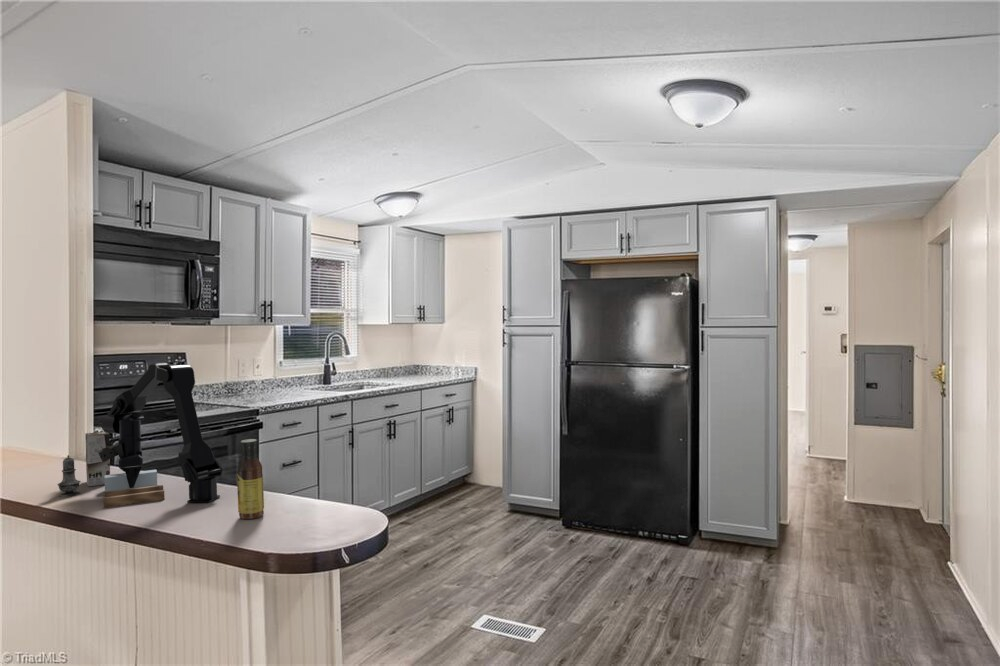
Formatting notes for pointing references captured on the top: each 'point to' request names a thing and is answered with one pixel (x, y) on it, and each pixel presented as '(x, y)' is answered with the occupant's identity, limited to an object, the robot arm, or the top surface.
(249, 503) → the sauce bottle
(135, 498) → the cradle
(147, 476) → the pale grey-blue bar
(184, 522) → the top surface
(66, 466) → the salt shaker
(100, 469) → the coffee box
